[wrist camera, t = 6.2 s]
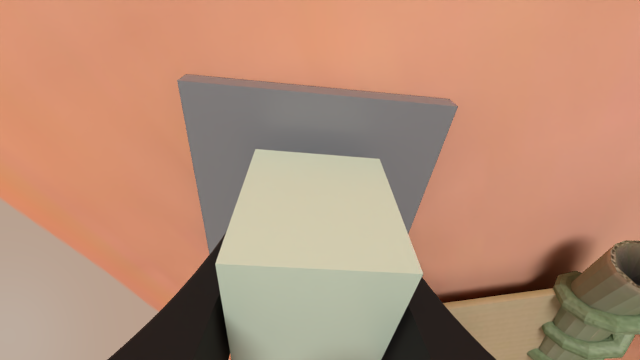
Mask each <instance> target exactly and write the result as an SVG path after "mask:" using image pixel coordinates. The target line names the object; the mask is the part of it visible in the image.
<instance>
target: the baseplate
mask: <svg viewBox="0 0 640 360" xmlns="http://www.w3.org/2000/svg"><path fill="white" fill-rule="evenodd" d="M177 81H178V87H179V92H180V97H181V103H182V108H183V114H184V119H185V124H186V130H187V135H188V141H189V146H190V151H191V157H192V162H193V167H194V173H195V178H196V184H197V189H198V194H199V200H200V205H201V211H202V216H203V221H204V227H205V232H206V238H207V243H208V248H209V254H211V252H212V251H213V250H214V248H215V247H216V246H217V244H218V243H219V241H220V240H221V239H222V237H223V236H224V234H225V233H226V231H227V229H228V226H229V223H230V220H231V217H232V215H233V212H234V209H235V206H236V203H237V200H238V197H239V195H240V192H241V189H242V186H243V183H244V180H245V177H246V175H247V172H248V169H249V166H250V163H251V160H252V157H253V155H254V152H255V149H262V150H274V151H287V152H300V153H312V154H325V155H337V156H350V157H363V158H375V159H380V161H381V164H382V167H383V169H384V172H385V174H386V177H387V180H388V182H389V185H390V188H391V190H392V193H393V196H394V198H395V201H396V203H397V206H398V209H399V211H400V214H401V217H402V219H403V222H404V225H405V227H406V230H407V233H409V230H410V228H411V225H412V223H413V220H414V218H415V215H416V212H417V210H418V207H419V205H420V202H421V200H422V197H423V194H424V192H425V189H426V187H427V184H428V182H429V179H430V177H431V174H432V171H433V169H434V166H435V164H436V161H437V159H438V156H439V154H440V151H441V148H442V146H443V143H444V141H445V138H446V136H447V133H448V131H449V128H450V125H451V123H452V120H453V118H454V115H455V113H456V110H457V107H458V106H457V105H456V104H454V103H453V102H452V101H451V100H450V99H443V98H432V97H422V96H411V95H400V94H390V93H379V92H369V91H358V90H347V89H337V88H326V87H316V86H305V85H294V84H284V83H273V82H263V81H252V80H241V79H231V78H220V77H209V76H199V75H188V74H186V75H184V76H183V77H182V78H180V79H179V80H177Z"/></svg>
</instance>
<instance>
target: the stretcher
mask: <svg viewBox="0 0 640 360" xmlns="http://www.w3.org/2000/svg"><path fill="white" fill-rule="evenodd" d="M443 304H444V305H445V306H446V308H447V309H448V310H449V311H450V312H451V313H452V315H453V316H454V317H455V318H456V319H457V320H458V321H459V322H460V323H461V325H462V326H463V327H464V328H465V329H466V330H467V331H468V332H469V333H470V334H471V335H472V336H473V337H474V338H475V339H476V340H477V341H478V342H479V343H480V344H481V345H482V346H483V347H484V348H485V349H486V350H487V351H488V352H489V353H490V354H491V355H492V356H493V357H494V358H495V359H496V360H604V359H605V358H620V357H623V356H624V354H625V352H626V351H627V349H628V347H629V345H630V344H631V342H632V340H633V338H634V337H635V336H634V335H635V334H640V241H623V242H620V243H617V244H615V245H614V246H613V247H612V248H611V249H609V250H608V251H607V252H606V253H605V254H604V255H602V256H601V257H600V258H599V259H598V260H597V261H596V262H594V263H593V264H592V265H591V266H590V267H589V268H587V269H586V270H585V271H584V272H583V273H580V272H578V271H572V272H569V273H565V274H561V275H558V277H557V279H556V281H555V284H554V287H553V288H551V289H543V290H536V291H529V292H521V293H514V294H507V295H499V296H492V297H485V298H477V299H470V300H463V301H455V302H448V303H443Z"/></svg>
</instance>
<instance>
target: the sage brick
mask: <svg viewBox="0 0 640 360" xmlns="http://www.w3.org/2000/svg"><path fill="white" fill-rule="evenodd" d="M215 266H216V271H217V277H218V283H219V289H220V295H221V301H222V307H223V313H224V319H225V325H226V331H227V337H228V343H229V349H230V354H231V360H381V359H382V357H383V355H384V353H385V351H386V349H387V347H388V345H389V343H390V341H391V339H392V337H393V335H394V333H395V331H396V329H397V326H398V324H399V322H400V320H401V318H402V316H403V314H404V312H405V310H406V308H407V306H408V304H409V302H410V300H411V298H412V296H413V294H414V292H415V290H416V288H417V286H418V284H419V282H420V280H421V278H422V276H423V272H422V269H421V267H420V264H419V262H418V259H417V256H416V254H415V251H414V248H413V246H412V243H411V240H410V238H409V235H408V233H407V230H406V227H405V225H404V222H403V219H402V217H401V214H400V211H399V209H398V206H397V203H396V201H395V198H394V196H393V193H392V190H391V188H390V185H389V182H388V180H387V177H386V174H385V172H384V169H383V167H382V164H381V161H380V159H375V158H363V157H350V156H337V155H325V154H312V153H300V152H287V151H274V150H262V149H255V152H254V155H253V157H252V160H251V163H250V166H249V169H248V172H247V175H246V177H245V180H244V183H243V186H242V189H241V192H240V195H239V197H238V200H237V203H236V206H235V209H234V212H233V215H232V217H231V220H230V223H229V226H228V229H227V232H226V235H225V237H224V240H223V243H222V246H221V249H220V252H219V255H218V257H217V260H216V263H215Z"/></svg>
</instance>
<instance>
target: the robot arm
mask: <svg viewBox="0 0 640 360" xmlns="http://www.w3.org/2000/svg"><path fill="white" fill-rule="evenodd" d="M226 232H227V231H226ZM225 235H226V233H225V234H224V236H223V237H222V239H221V240H220V241H219V243H218V244H217V246H216V247H215V248H214V250H213V251H212V252H211V254H210V255H209V256H208V257H207V259H206V260H205V261H204V262H203V264H202V265H201V266H200V267H199V269H198V270H197V271H196V272H195V273H194V275H193V276H192V277H191V278H190V279H189V280H188V281H187V283H186V284H185V285H184V286H183V287H182V288H181V289H180V290H179V292H178V293H177V294H176V295H175V296H174V297H173V298H172V299H171V300H170V301H169V302H168V303H167V305H166V306H165V307H164V308H163V309H162V310H161V311H160V312H159V313H158V314H157V315H156V316H155V317H154V318H153V319H152V320H151V321H150V322H149V323H147V324H146V325H145V326H144V327H143V328H142V329H141V330H140V331H139V332H138V333H137V334H136V335H135V336H134V337H133V338H131V339H130V340H129V341H128V342H127V343H126V344H125V345H124V346H123V347H122V348H120V349H119V350H118V351H117V352H116V353H115V354H114V355H113V356H111V357H110V358H109V359H108V360H228V359H229V355H230V349H229V343H228V337H227V331H226V325H225V319H224V313H223V307H222V301H221V295H220V289H219V283H218V277H217V271H216V266H215V263H216V260H217V257H218V255H219V252H220V249H221V246H222V243H223V240H224V237H225ZM381 360H496V359H495V358H494V357H493V356H492V355H491V354H490V353H489V352H488V351H487V350H486V349H485V348H484V347H483V346H482V345H481V344H480V343H479V342H478V341H477V340H476V339H475V338H474V337H473V336H472V335H471V334H470V333H469V332H468V331H467V330H466V329H465V328H464V327H463V326H462V325H461V323H460V322H459V321H458V320H457V319H456V318H455V317H454V316H453V315H452V313H451V312H450V311H449V310H448V309H447V308H446V306H445V305H444V304H443V303H442V302H441V300H440V299H439V298H438V297H437V296H436V294H435V293H434V292H433V291H432V289H431V288H430V287H429V286H428V284H427V283H426V282H425V280H424V279H423V278H421V280H420V282H419V284H418V286H417V288H416V290H415V292H414V294H413V296H412V298H411V300H410V302H409V304H408V306H407V308H406V310H405V312H404V314H403V316H402V318H401V320H400V322H399V324H398V326H397V329H396V331H395V333H394V335H393V337H392V339H391V341H390V343H389V345H388V347H387V349H386V351H385V353H384V355H383V357H382V359H381Z"/></svg>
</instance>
